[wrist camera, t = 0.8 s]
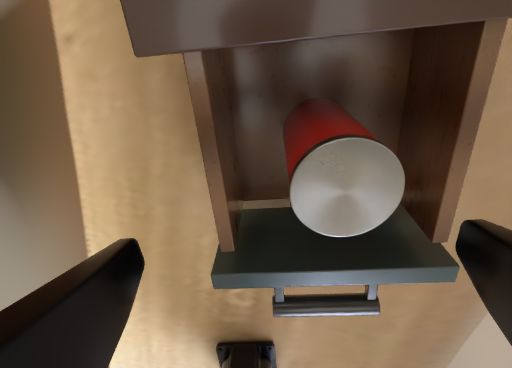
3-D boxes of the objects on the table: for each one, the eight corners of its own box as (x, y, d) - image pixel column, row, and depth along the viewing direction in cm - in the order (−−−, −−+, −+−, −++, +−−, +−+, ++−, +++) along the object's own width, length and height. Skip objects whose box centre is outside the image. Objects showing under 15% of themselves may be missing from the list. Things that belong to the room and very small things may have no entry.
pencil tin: (348, 160, 18) (397, 235, 11) (283, 164, 19) (291, 239, 12) (352, 93, 16) (414, 132, 9) (280, 100, 17) (286, 142, 10)
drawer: (395, 256, 23) (439, 333, 17) (235, 262, 25) (224, 336, 18) (445, -39, 14) (575, -99, 8) (190, -7, 16) (138, -39, 9)
